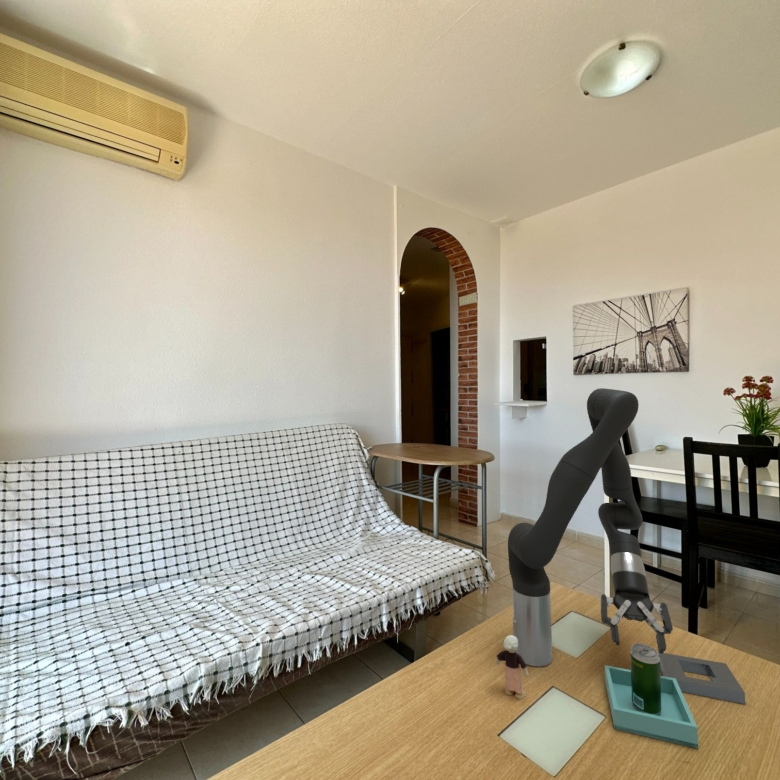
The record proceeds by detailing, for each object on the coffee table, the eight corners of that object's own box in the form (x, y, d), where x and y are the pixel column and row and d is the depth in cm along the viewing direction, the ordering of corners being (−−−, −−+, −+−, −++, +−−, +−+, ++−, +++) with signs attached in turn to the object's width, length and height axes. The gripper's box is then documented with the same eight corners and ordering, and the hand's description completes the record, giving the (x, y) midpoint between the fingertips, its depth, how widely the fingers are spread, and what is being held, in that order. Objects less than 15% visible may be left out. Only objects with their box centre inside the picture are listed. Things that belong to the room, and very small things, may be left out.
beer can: (654, 721, 83) (652, 662, 83) (626, 705, 87) (625, 648, 87) (666, 709, 86) (664, 652, 86) (639, 694, 90) (637, 639, 90)
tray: (614, 729, 82) (613, 709, 82) (605, 682, 95) (604, 665, 96) (698, 748, 77) (697, 727, 77) (676, 696, 90) (675, 678, 91)
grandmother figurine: (531, 691, 93) (529, 635, 93) (529, 702, 90) (527, 644, 90) (497, 682, 97) (495, 628, 97) (493, 693, 93) (492, 637, 93)
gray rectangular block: (668, 689, 93) (668, 678, 93) (657, 661, 102) (656, 651, 102) (745, 704, 88) (744, 692, 88) (726, 674, 97) (725, 663, 97)
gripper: (597, 565, 103) (604, 637, 92) (664, 573, 98) (680, 650, 87) (596, 577, 108) (602, 647, 97) (659, 585, 103) (673, 660, 92)
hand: (639, 648), depth 92 cm, fingers open, 8 cm apart
